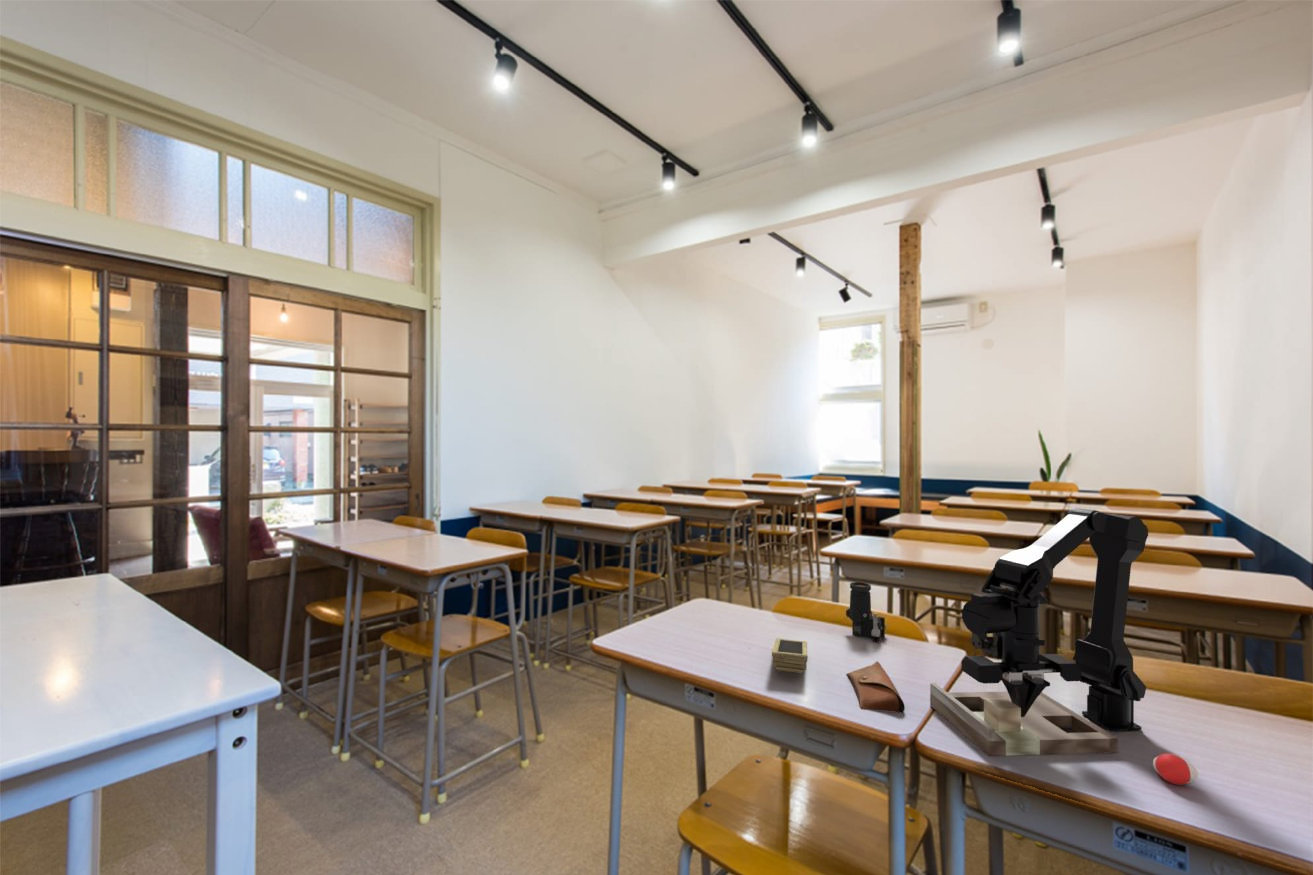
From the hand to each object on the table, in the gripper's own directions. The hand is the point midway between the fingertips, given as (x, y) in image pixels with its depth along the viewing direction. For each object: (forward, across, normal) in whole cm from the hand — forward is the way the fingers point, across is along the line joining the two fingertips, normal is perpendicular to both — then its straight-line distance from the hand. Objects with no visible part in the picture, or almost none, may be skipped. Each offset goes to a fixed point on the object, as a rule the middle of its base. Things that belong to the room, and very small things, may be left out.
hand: (1020, 715), depth 99 cm
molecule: (+4, -16, +13) cm, 21 cm away
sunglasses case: (+5, +18, -20) cm, 27 cm away
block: (+2, +4, 0) cm, 4 cm away
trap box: (+4, -2, -4) cm, 6 cm away
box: (+4, +31, -35) cm, 47 cm away
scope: (+4, +5, -53) cm, 53 cm away
